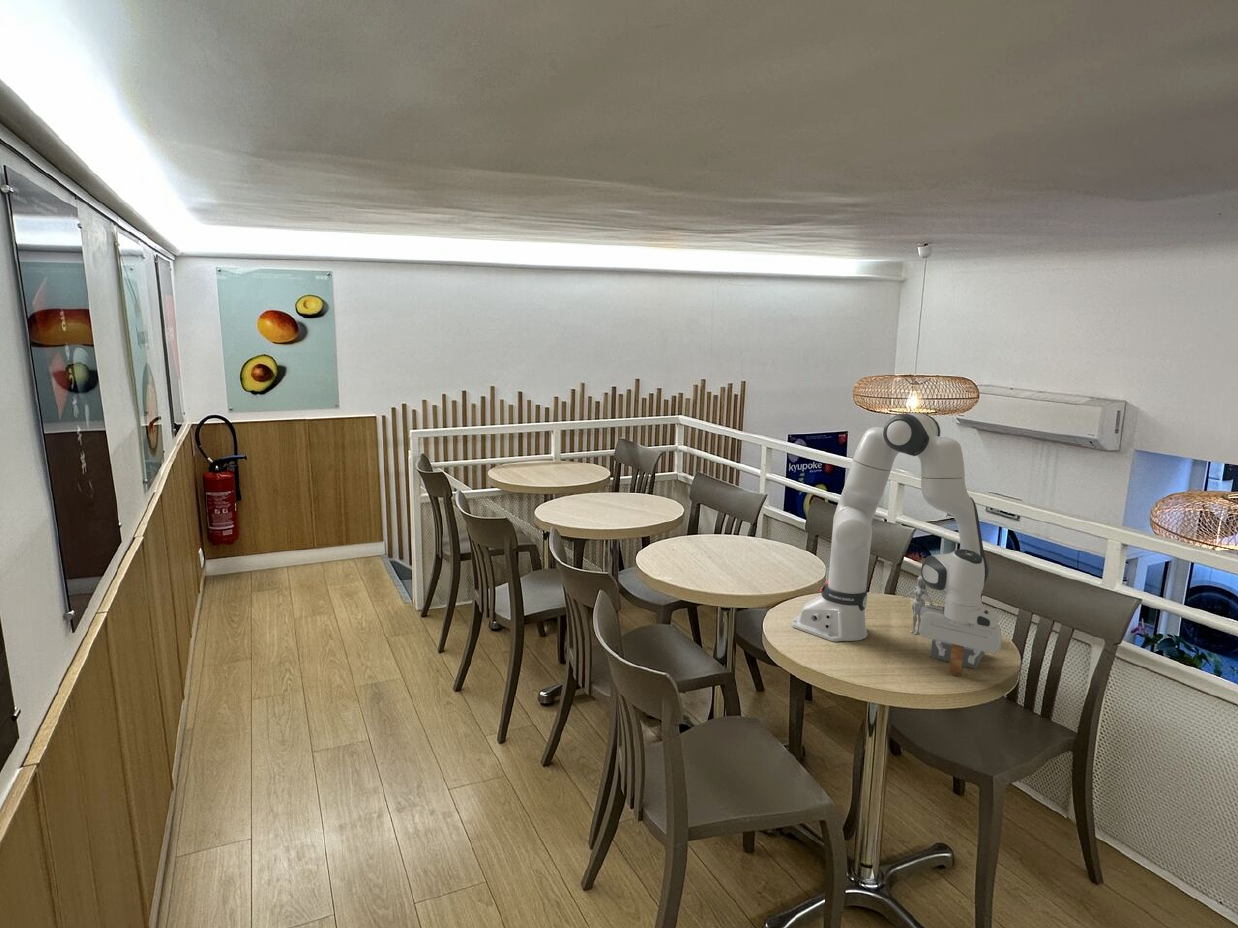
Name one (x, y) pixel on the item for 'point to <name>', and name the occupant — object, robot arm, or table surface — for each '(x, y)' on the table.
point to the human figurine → (918, 602)
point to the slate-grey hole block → (947, 657)
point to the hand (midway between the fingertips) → (956, 659)
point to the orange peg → (956, 660)
